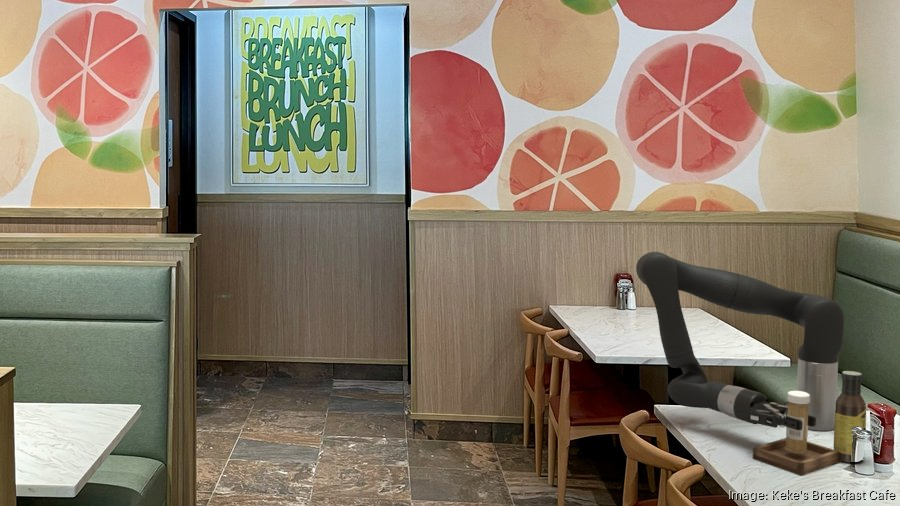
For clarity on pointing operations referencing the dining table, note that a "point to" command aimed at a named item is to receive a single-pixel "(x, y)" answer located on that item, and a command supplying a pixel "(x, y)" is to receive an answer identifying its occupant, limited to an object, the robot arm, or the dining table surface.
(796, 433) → the sprinkles bottle
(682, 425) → the dining table surface
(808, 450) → the tray
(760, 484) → the dining table surface
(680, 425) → the dining table surface
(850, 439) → the sauce bottle
